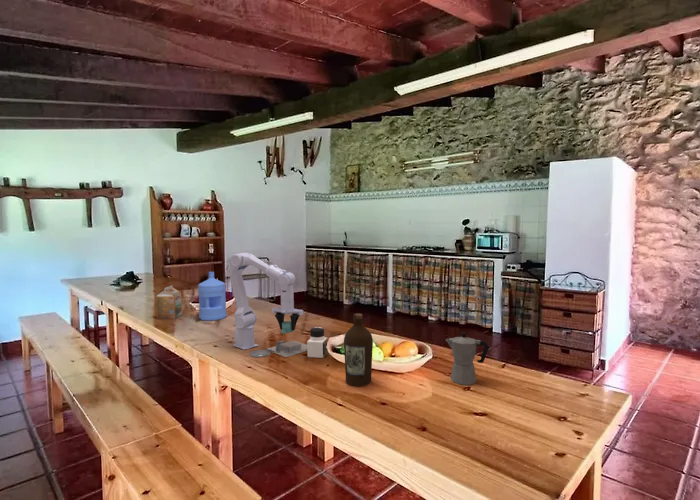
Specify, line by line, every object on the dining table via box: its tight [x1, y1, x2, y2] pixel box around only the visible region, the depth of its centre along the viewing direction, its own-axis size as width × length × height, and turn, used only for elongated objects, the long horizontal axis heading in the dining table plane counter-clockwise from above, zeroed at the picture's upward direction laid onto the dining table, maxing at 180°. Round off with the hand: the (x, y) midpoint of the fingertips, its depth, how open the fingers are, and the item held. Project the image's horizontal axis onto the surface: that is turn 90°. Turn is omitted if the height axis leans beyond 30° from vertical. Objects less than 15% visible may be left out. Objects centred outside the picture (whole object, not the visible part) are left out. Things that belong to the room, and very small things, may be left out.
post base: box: [266, 339, 307, 358], centre depth 189 cm, size 14×16×5 cm
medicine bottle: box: [306, 326, 328, 359], centre depth 181 cm, size 7×7×12 cm
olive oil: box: [343, 313, 374, 387], centre depth 151 cm, size 11×11×25 cm
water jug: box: [197, 271, 227, 322], centre depth 250 cm, size 16×16×28 cm
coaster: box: [249, 349, 272, 358], centre depth 184 cm, size 9×9×1 cm
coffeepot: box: [445, 331, 490, 386], centre depth 151 cm, size 15×9×18 cm, turn 68°
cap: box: [280, 320, 294, 335], centre depth 184 cm, size 5×8×4 cm, turn 162°
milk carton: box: [156, 284, 183, 321], centre depth 252 cm, size 11×11×19 cm
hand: (287, 329), depth 186 cm, fingers closed on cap, 5 cm apart
